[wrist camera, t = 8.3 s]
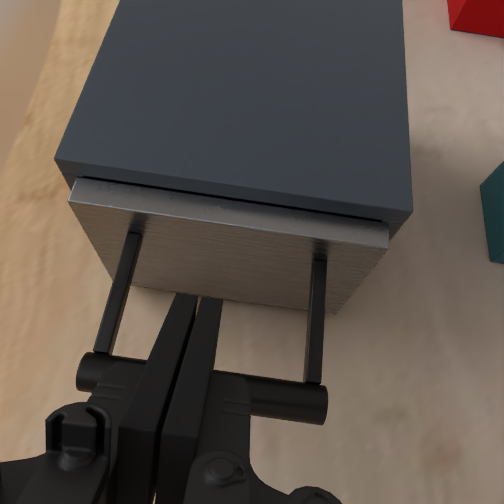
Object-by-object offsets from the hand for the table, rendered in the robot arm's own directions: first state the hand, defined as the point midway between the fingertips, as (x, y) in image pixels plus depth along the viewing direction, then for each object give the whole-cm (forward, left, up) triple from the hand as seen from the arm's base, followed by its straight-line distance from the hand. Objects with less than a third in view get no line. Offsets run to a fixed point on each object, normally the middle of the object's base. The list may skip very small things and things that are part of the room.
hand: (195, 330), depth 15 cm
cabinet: (+7, -11, -9) cm, 15 cm away
